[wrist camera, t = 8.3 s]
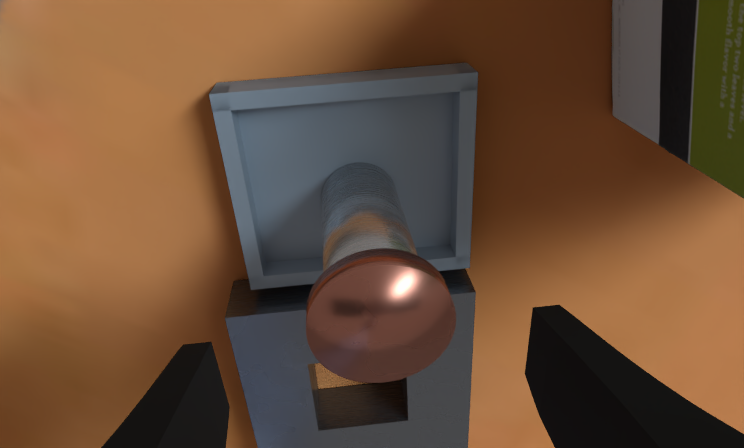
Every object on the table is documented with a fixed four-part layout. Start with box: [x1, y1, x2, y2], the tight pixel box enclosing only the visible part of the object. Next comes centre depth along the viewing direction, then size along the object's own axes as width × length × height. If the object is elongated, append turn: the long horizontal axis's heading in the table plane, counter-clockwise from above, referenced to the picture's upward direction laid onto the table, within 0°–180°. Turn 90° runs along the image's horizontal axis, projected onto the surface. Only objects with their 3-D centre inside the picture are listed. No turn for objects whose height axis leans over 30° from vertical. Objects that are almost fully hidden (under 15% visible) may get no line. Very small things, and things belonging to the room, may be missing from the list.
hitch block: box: [225, 268, 476, 448], centre depth 24 cm, size 10×10×2 cm
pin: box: [306, 162, 456, 383], centre depth 17 cm, size 4×4×8 cm
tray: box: [209, 63, 478, 290], centre depth 20 cm, size 9×8×2 cm
